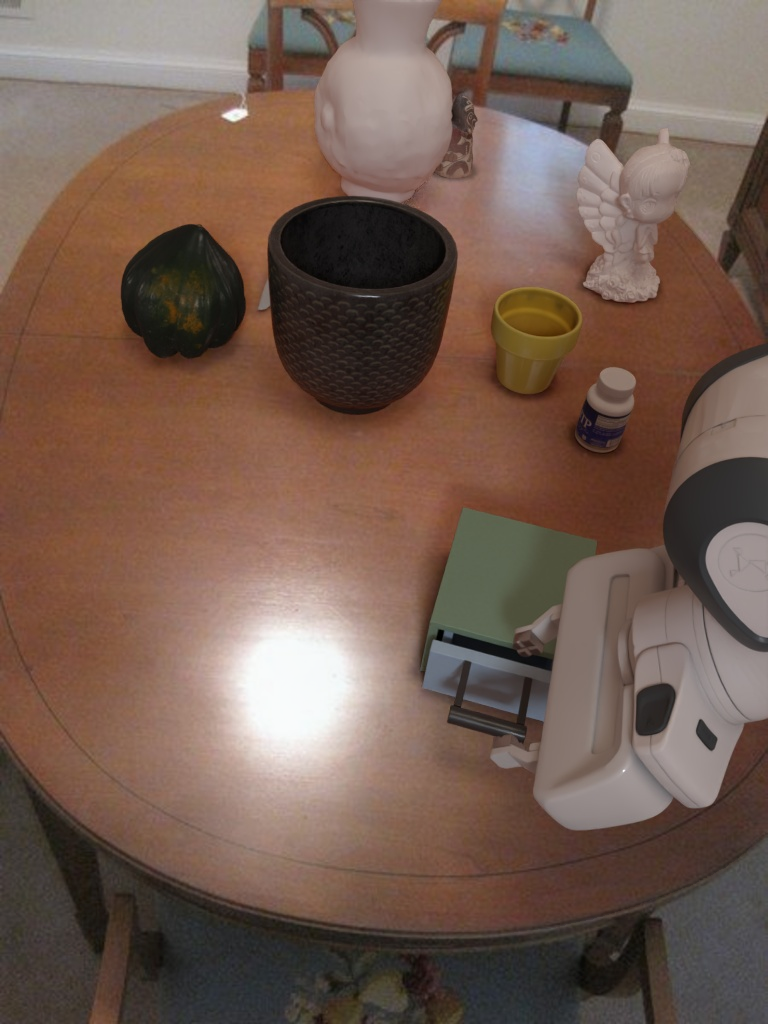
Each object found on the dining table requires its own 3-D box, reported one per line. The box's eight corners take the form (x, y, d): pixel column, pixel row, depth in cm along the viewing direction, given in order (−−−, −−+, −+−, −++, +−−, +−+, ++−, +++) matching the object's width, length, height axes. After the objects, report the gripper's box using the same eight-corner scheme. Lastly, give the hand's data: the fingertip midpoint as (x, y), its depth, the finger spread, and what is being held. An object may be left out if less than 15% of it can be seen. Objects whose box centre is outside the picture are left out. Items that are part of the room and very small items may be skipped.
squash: (83, 330, 97) (164, 244, 89) (112, 262, 107) (186, 181, 100) (186, 402, 104) (268, 328, 97) (203, 332, 115) (279, 261, 107)
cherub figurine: (593, 310, 118) (636, 168, 103) (552, 261, 125) (587, 123, 111) (675, 299, 121) (727, 160, 106) (630, 252, 129) (674, 117, 114)
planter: (307, 460, 93) (310, 311, 79) (246, 355, 105) (240, 208, 91) (465, 419, 100) (494, 275, 86) (392, 324, 112) (407, 183, 98)
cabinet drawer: (542, 785, 69) (561, 748, 65) (405, 746, 70) (413, 707, 66) (569, 610, 81) (586, 568, 77) (451, 579, 83) (461, 536, 78)
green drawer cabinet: (559, 709, 75) (581, 661, 69) (419, 670, 76) (430, 621, 71) (577, 591, 84) (597, 540, 79) (451, 558, 86) (462, 506, 80)
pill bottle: (571, 421, 101) (590, 360, 95) (615, 425, 102) (637, 364, 95) (576, 452, 98) (597, 391, 91) (622, 456, 98) (646, 395, 91)
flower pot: (464, 379, 105) (477, 311, 98) (508, 341, 111) (523, 275, 104) (537, 417, 101) (556, 349, 94) (578, 376, 107) (599, 310, 100)
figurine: (462, 182, 140) (473, 106, 131) (422, 170, 141) (431, 95, 132) (478, 165, 144) (490, 91, 135) (439, 154, 146) (448, 80, 137)
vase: (358, 237, 125) (373, 10, 103) (293, 171, 137) (294, -45, 115) (464, 213, 133) (499, -3, 111) (393, 153, 145) (413, -54, 123)
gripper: (671, 509, 60) (506, 562, 68) (658, 775, 46) (453, 801, 54) (713, 566, 62) (549, 611, 71) (711, 833, 49) (509, 850, 57)
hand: (507, 695), depth 62 cm, fingers open, 8 cm apart
